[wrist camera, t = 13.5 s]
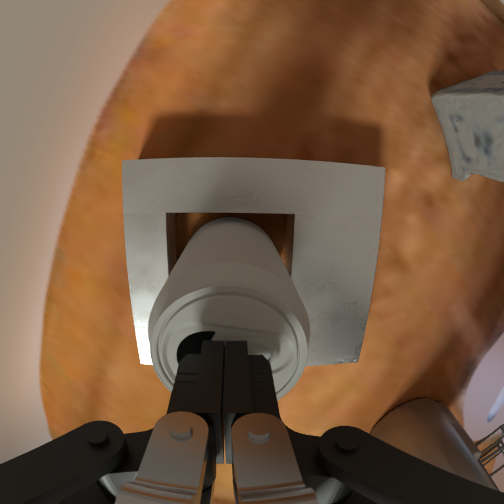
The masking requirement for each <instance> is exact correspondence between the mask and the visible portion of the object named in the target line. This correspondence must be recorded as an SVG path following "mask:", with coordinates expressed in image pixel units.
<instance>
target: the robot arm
mask: <svg viewBox="0 0 504 504" xmlns="http://www.w3.org/2000/svg"><path fill="white" fill-rule="evenodd" d="M224 436H225V454H226V464H232V473H233V490H234V498H235V504H504V493H503V492H500V491H497V489H496V488H495V486H494V485H493V483H492V482H491V480H490V479H489V477H488V476H487V474H486V473H485V471H484V470H483V468H482V467H481V465H480V464H479V462H478V459H479V458H480V455H481V452H480V451H479V449H478V448H477V446H476V445H475V444H474V442H473V441H472V439H471V438H470V437H469V435H468V434H467V433H466V431H465V430H464V429H463V427H462V426H461V425H460V423H459V422H458V421H457V419H456V418H455V417H454V415H453V414H452V413H451V411H450V410H449V409H448V407H447V406H446V405H445V403H444V402H443V401H441V402H435V401H434V400H432V399H428V398H421V399H416V400H413V401H410V402H407V403H405V404H403V405H401V406H399V407H397V408H396V409H394V410H393V411H391V412H390V413H389V414H387V415H386V416H385V417H383V418H382V419H381V420H380V421H379V422H378V423H377V425H376V426H375V427H374V428H373V430H372V432H371V434H368V433H367V432H365V431H363V430H361V429H359V428H356V427H351V426H338V427H334V428H331V429H329V430H328V431H326V432H325V433H324V434H323V435H322V436H321V437H319V436H312V435H305V434H301V433H298V432H295V431H293V430H291V429H290V428H288V427H287V426H286V425H285V424H284V423H283V422H282V420H281V418H280V414H279V408H278V402H277V397H276V391H275V386H274V380H273V376H272V369H271V363H270V362H269V361H268V360H267V359H266V358H265V357H264V356H263V355H248V346H247V341H226V351H225V348H224V341H217V340H203V342H202V349H201V354H187V355H186V356H185V357H184V358H183V359H182V360H181V361H180V362H179V365H178V369H177V375H176V377H175V383H174V385H173V389H172V393H171V398H170V402H169V406H168V410H167V414H166V415H164V416H163V417H161V418H160V419H159V420H158V421H157V422H156V424H155V426H154V428H153V429H150V430H147V431H143V432H136V433H127V434H123V432H122V430H121V429H120V428H119V427H118V426H117V425H115V424H113V423H111V422H107V421H92V422H89V423H86V424H84V425H82V426H80V427H78V428H76V429H74V430H72V431H70V432H68V433H66V434H64V435H62V436H60V437H58V438H56V439H54V440H52V441H50V442H48V443H46V444H44V445H42V446H40V447H38V448H36V449H33V450H31V451H29V452H27V453H25V454H23V455H20V456H18V457H16V458H14V459H11V460H9V461H7V462H5V463H2V464H0V504H212V501H213V493H214V486H215V478H216V464H224Z"/></svg>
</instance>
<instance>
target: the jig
mask: <svg viewBox="0 0 504 504" xmlns="http://www.w3.org/2000/svg"><path fill="white" fill-rule="evenodd" d="M384 182H385V167H376V166H367V165H358V164H348V163H337V162H325V161H311V160H295V159H274V158H239V157H193V158H159V159H138V160H123V161H122V184H123V215H124V233H125V247H126V259H127V270H128V279H129V288H130V297H131V304H132V312H133V319H134V325H135V332H136V338H137V344H138V350H139V355H140V361H141V364H152V361H151V356H150V343H149V338H148V321H149V317H150V313H151V310H152V307H153V305H154V302H155V300H156V298H157V296H158V295H159V293H160V291H161V289H162V287H163V286H164V284H165V282H166V280H167V279H168V277H169V275H170V273H171V271H172V270H173V268H174V266H175V264H176V263H177V253H176V222H175V213H186V212H205V213H278V214H287V218H286V238H285V257H284V265H285V267H286V269H287V271H288V273H289V275H290V277H291V280H292V282H293V284H294V286H295V288H296V290H297V292H298V294H299V296H300V298H301V300H302V302H303V304H304V306H305V308H306V311H307V314H308V317H309V323H310V342H309V346H308V352H307V361H306V365H305V366H315V365H329V364H341V363H352V362H358V360H359V356H360V352H361V347H362V342H363V338H364V333H365V328H366V323H367V318H368V312H369V307H370V301H371V295H372V289H373V283H374V277H375V270H376V263H377V255H378V247H379V239H380V230H381V220H382V209H383V197H384ZM152 365H153V364H152Z"/></svg>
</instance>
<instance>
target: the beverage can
mask: <svg viewBox="0 0 504 504" xmlns="http://www.w3.org/2000/svg"><path fill="white" fill-rule="evenodd" d="M148 338H149V343H150V356H151V361H152V364H153V367H154V369H155V372H156V374H157V376H158V377H159V379H160V380H161V382H162V383H163V384H164V385H165V387H166V388H167V389H168V390H169V391H170V392H171V393H172V389H173V385H174V383H175V377H176V375H177V369H178V365H179V362H180V361H181V360H182V359H183V358H184V357H185V356H186V355H187V354H201V349H202V342H203V340H217V341H224V348H225V351H226V341H247V346H248V355H263V356H264V357H265V358H266V359H267V360H268V361H269V362H270V363H271V369H272V376H273V380H274V386H275V391H276V397H277V400H279V399H280V398H282V397H283V396H284V395H285V394H287V393H288V392H289V391H290V390H291V389H292V388H293V387H294V385H295V384H296V383H297V381H298V380H299V378H300V376H301V375H302V373H303V370H304V368H305V365H306V361H307V352H308V346H309V342H310V323H309V317H308V314H307V311H306V308H305V306H304V304H303V302H302V300H301V298H300V296H299V294H298V292H297V290H296V288H295V286H294V284H293V282H292V280H291V277H290V275H289V273H288V271H287V269H286V267H285V265H284V263H283V261H282V259H281V257H280V255H279V253H278V251H277V249H276V247H275V245H274V243H273V241H272V240H271V238H270V237H269V235H268V234H267V233H266V232H265V231H264V230H263V229H262V228H261V227H259V226H258V225H256V224H255V223H253V222H251V221H248V220H246V219H242V218H236V217H225V218H219V219H216V220H213V221H211V222H208V223H207V224H205V225H203V226H202V227H201V228H199V229H198V230H197V231H196V232H195V233H194V235H193V236H192V237H191V239H190V240H189V242H188V244H187V246H186V247H185V249H184V251H183V252H182V254H181V256H180V258H179V259H178V261H177V263H176V264H175V266H174V268H173V270H172V271H171V273H170V275H169V277H168V279H167V280H166V282H165V284H164V286H163V287H162V289H161V291H160V293H159V295H158V296H157V298H156V300H155V302H154V305H153V307H152V310H151V313H150V317H149V321H148Z"/></svg>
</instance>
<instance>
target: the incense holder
mask: <svg viewBox="0 0 504 504" xmlns="http://www.w3.org/2000/svg"><path fill="white" fill-rule="evenodd" d="M431 98H432V103H433V106H434V108H435V111H436V114H437V117H438V119H439V122H440V124H441V127H442V131H443V134H444V137H445V141H446V144H447V147H448V151H449V158H450V163H451V167H452V177H453V178H455V179H457V180H460V181H464V180H466V179H468V178H469V177H470V175H471V174H479V175H481V176H486V177H488V178H490V179H492V180H498V181H501V182H504V71H492V72H488V73H486V74H483V75H481V76H478V77H476V78H473V79H470V80H466V81H463V82H460V83H459V84H456V85H452V86H449V87H447V88H444V89H441V90H438V91H436V92H435V93H434V94H433V95H432V96H431Z"/></svg>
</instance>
